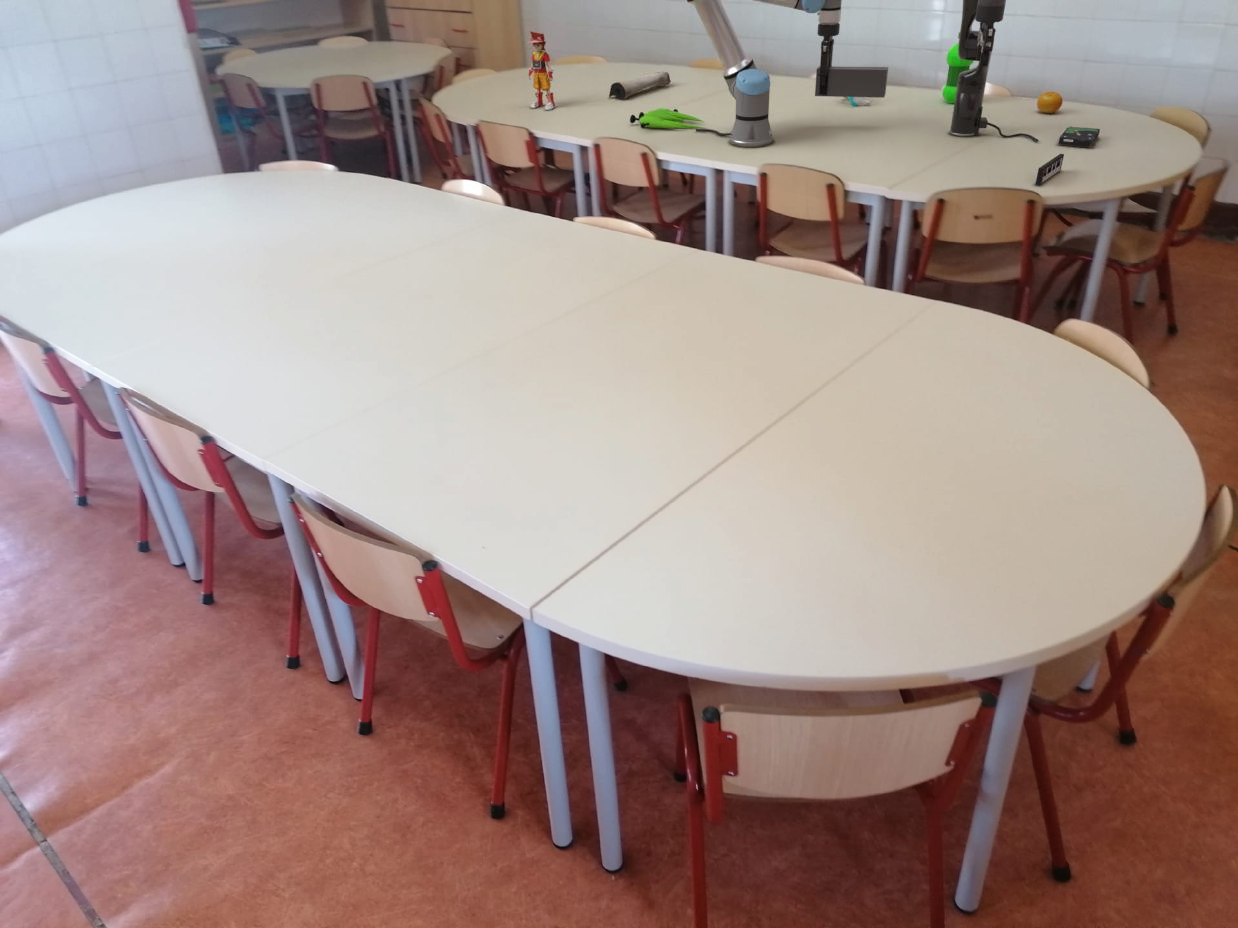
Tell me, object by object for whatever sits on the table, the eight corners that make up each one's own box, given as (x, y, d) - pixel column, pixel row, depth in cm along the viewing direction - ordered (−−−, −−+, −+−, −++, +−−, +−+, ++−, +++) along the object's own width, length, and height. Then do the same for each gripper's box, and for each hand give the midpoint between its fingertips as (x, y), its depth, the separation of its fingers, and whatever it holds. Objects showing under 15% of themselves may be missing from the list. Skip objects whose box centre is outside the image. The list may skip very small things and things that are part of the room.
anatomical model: (834, 77, 364) (859, 70, 363) (837, 103, 370) (861, 96, 369) (845, 85, 351) (870, 78, 351) (847, 112, 357) (872, 105, 357)
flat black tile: (1039, 185, 269) (1043, 168, 266) (1035, 184, 270) (1038, 168, 267) (1060, 170, 279) (1064, 154, 277) (1056, 169, 280) (1060, 153, 277)
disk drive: (1091, 148, 296) (1098, 136, 306) (1093, 140, 295) (1100, 128, 305) (1057, 145, 301) (1065, 133, 311) (1059, 137, 299) (1067, 125, 310)
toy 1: (525, 109, 381) (517, 32, 364) (534, 104, 388) (527, 28, 371) (550, 110, 377) (543, 32, 360) (559, 105, 384) (553, 28, 367)
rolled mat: (651, 76, 408) (662, 61, 399) (662, 93, 408) (674, 79, 400) (605, 92, 391) (616, 77, 383) (617, 110, 391) (628, 95, 383)
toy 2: (619, 127, 344) (687, 140, 332) (619, 113, 342) (688, 126, 329) (655, 115, 365) (720, 127, 352) (656, 102, 362) (722, 114, 350)
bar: (885, 94, 324) (888, 67, 318) (884, 97, 320) (887, 70, 315) (816, 93, 331) (818, 66, 326) (814, 96, 328) (816, 69, 323)
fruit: (1033, 104, 332) (1048, 84, 329) (1031, 108, 340) (1046, 88, 337) (1052, 117, 331) (1068, 97, 327) (1050, 120, 338) (1065, 100, 335)
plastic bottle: (973, 101, 354) (984, 32, 339) (955, 106, 349) (966, 36, 335) (952, 97, 361) (962, 29, 346) (934, 102, 356) (944, 33, 342)
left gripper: (822, 18, 323) (817, 87, 336) (814, 27, 310) (809, 98, 323) (843, 18, 321) (838, 87, 334) (836, 27, 307) (830, 99, 321)
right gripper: (1009, 6, 250) (998, 68, 260) (1002, -2, 262) (991, 58, 271) (980, 7, 252) (971, 69, 261) (974, -1, 263) (965, 59, 272)
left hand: (824, 92), depth 328 cm, fingers closed on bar, 4 cm apart
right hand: (981, 63), depth 266 cm, fingers open, 8 cm apart
